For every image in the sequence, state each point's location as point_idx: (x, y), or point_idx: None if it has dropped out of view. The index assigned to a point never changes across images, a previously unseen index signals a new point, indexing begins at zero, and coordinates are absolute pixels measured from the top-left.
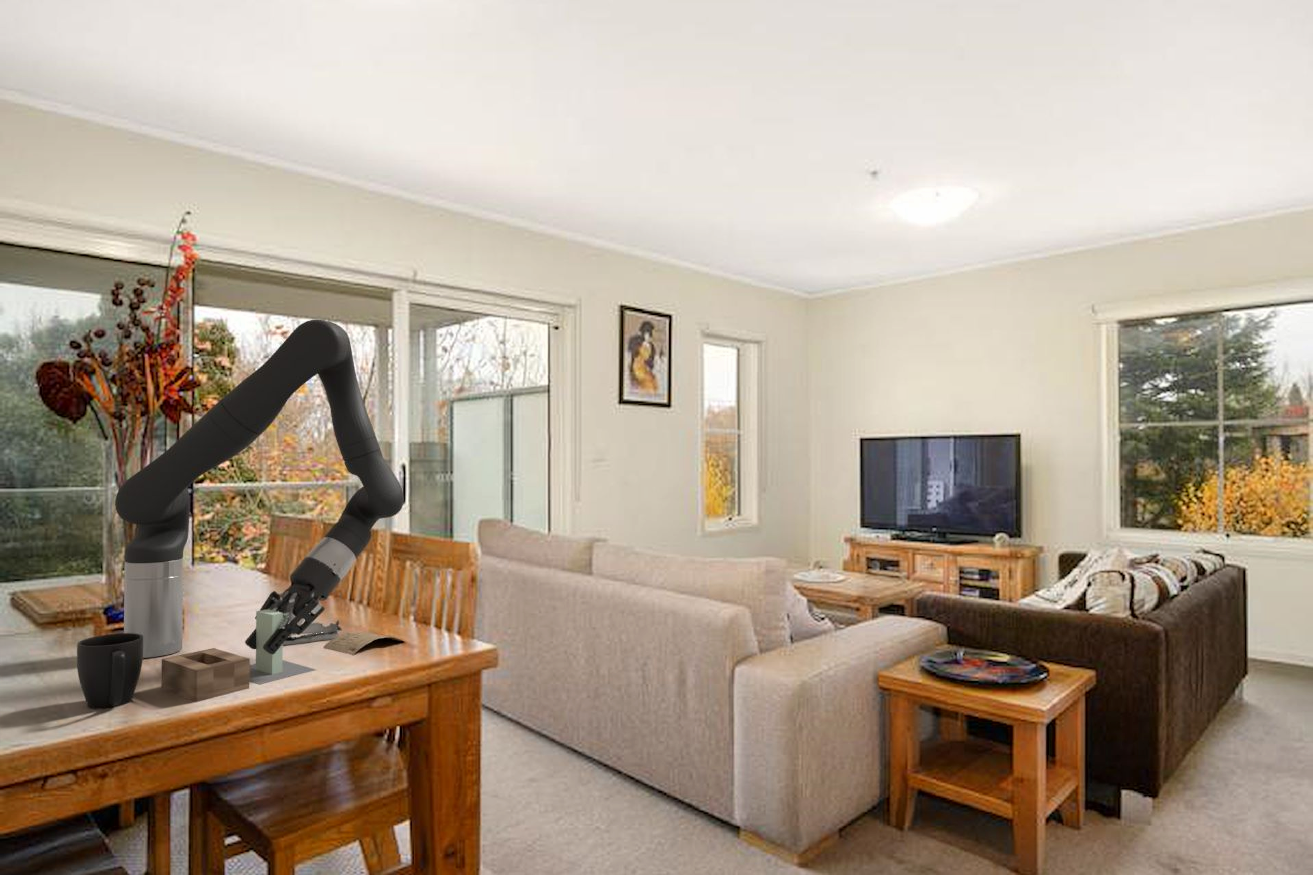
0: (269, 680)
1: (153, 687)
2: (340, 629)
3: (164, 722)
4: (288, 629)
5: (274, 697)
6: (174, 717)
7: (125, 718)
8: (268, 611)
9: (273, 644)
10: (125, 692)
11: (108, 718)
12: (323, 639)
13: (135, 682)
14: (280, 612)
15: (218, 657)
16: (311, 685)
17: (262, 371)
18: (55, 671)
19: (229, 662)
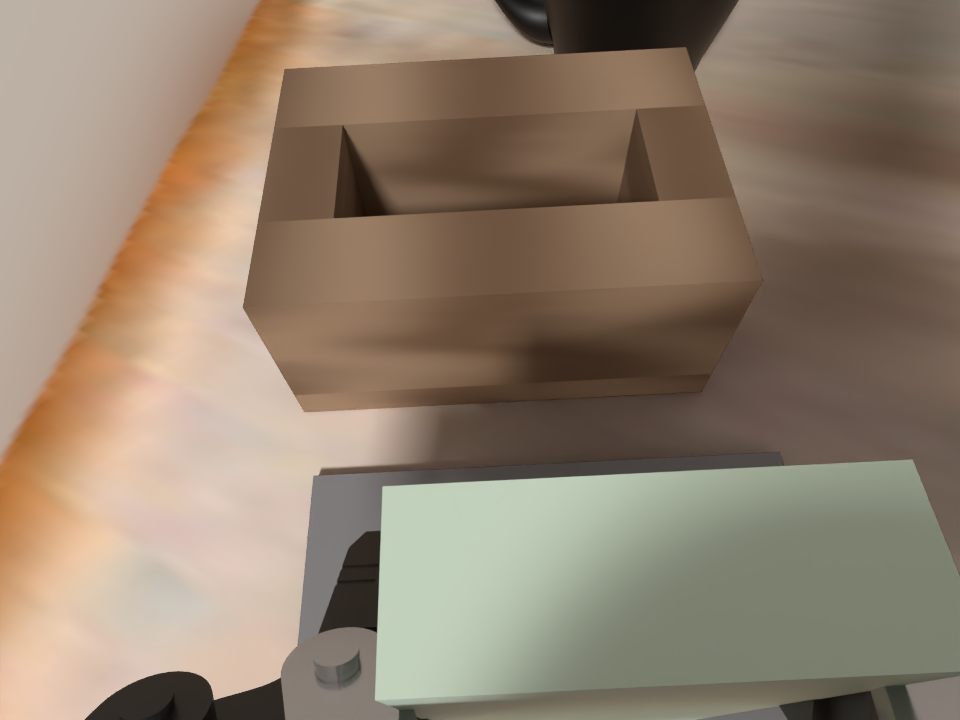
0: (332, 551)
1: (735, 181)
2: None
3: (228, 86)
4: (233, 704)
5: (62, 433)
6: (246, 114)
7: (389, 41)
8: (733, 585)
9: (348, 557)
10: (551, 25)
11: (437, 18)
12: None
13: (570, 22)
14: (459, 696)
15: (462, 213)
16: (13, 705)
17: None
18: None
19: (271, 201)
